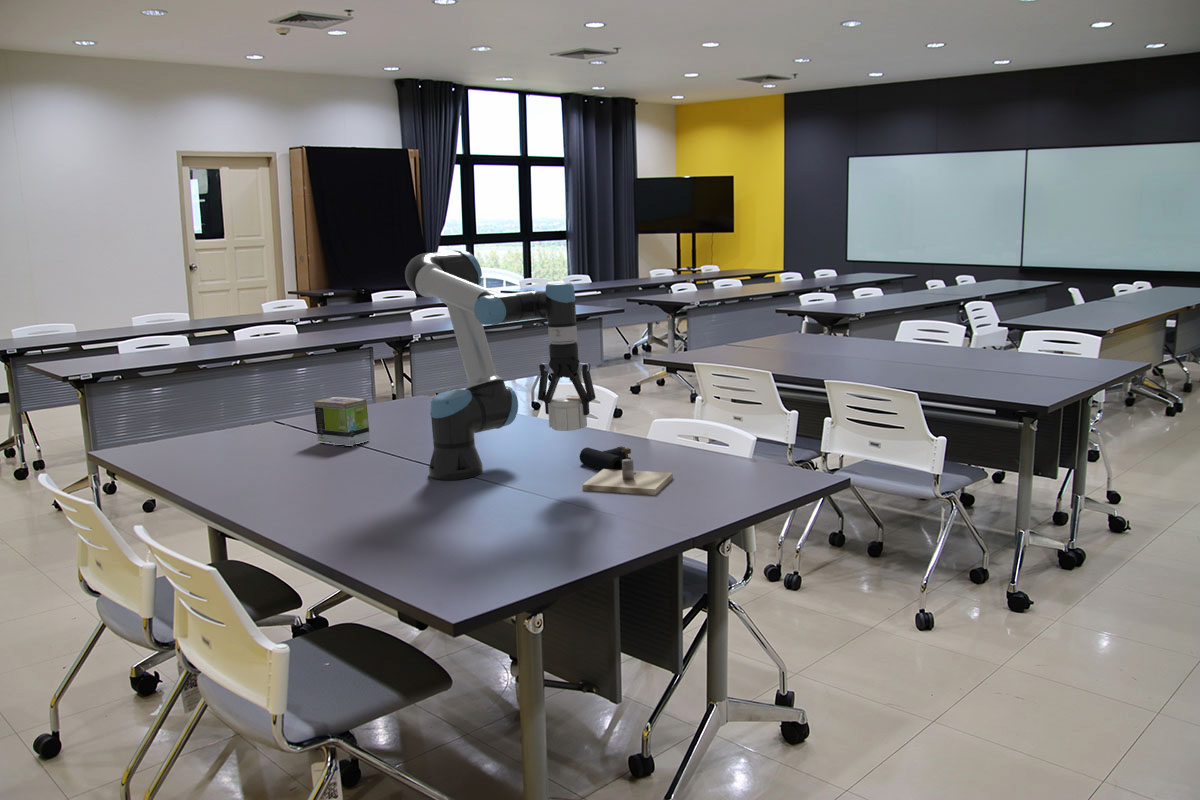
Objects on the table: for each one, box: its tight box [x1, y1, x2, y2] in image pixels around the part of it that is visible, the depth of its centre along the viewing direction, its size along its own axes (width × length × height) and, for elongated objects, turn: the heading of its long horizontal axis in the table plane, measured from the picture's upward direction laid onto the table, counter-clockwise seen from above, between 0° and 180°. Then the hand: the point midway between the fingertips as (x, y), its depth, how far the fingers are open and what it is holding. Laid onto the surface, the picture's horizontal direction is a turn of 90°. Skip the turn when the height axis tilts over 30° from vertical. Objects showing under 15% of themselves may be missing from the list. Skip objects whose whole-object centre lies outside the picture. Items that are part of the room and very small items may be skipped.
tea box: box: [313, 396, 371, 445], centre depth 316 cm, size 15×10×15 cm
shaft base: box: [582, 458, 674, 496], centre depth 254 cm, size 20×16×6 cm
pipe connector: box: [579, 446, 632, 471], centre depth 274 cm, size 12×5×15 cm
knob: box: [551, 396, 582, 432], centre depth 254 cm, size 8×8×8 cm
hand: (568, 426), depth 255 cm, fingers closed on knob, 8 cm apart
